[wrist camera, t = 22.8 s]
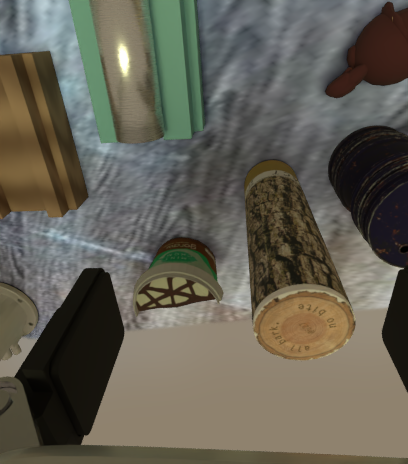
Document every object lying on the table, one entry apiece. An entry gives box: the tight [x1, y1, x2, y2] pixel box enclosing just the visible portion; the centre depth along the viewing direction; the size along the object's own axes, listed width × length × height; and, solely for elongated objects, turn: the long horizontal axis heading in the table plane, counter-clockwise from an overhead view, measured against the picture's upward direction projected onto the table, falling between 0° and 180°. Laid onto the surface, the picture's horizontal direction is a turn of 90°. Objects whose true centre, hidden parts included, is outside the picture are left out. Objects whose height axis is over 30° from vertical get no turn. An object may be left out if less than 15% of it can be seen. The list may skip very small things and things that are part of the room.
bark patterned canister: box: [244, 160, 355, 360], centre depth 34 cm, size 7×7×25 cm
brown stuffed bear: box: [325, 2, 408, 98], centre depth 33 cm, size 7×7×15 cm
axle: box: [88, 0, 165, 143], centre depth 31 cm, size 14×5×5 cm, turn 4°
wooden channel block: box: [0, 51, 88, 219], centre depth 41 cm, size 18×12×6 cm, turn 4°
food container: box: [133, 237, 223, 317], centre depth 47 cm, size 12×6×10 cm, turn 105°
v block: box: [69, 0, 205, 143], centre depth 36 cm, size 14×12×6 cm
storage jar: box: [328, 126, 408, 268], centre depth 36 cm, size 10×10×15 cm
